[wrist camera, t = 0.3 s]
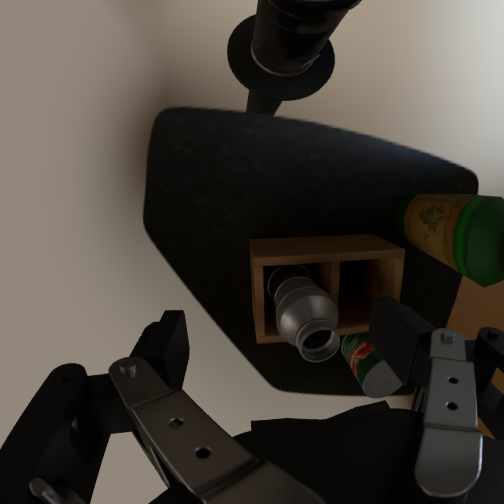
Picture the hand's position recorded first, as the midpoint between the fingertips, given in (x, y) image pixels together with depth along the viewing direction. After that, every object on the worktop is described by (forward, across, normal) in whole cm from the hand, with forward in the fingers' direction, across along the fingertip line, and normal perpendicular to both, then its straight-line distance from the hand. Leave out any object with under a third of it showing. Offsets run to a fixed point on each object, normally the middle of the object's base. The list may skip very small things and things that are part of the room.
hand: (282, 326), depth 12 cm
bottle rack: (+30, -10, +8) cm, 33 cm away
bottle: (+30, -27, 0) cm, 41 cm away
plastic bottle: (+31, -5, +8) cm, 32 cm away
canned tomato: (+31, -19, +22) cm, 42 cm away
